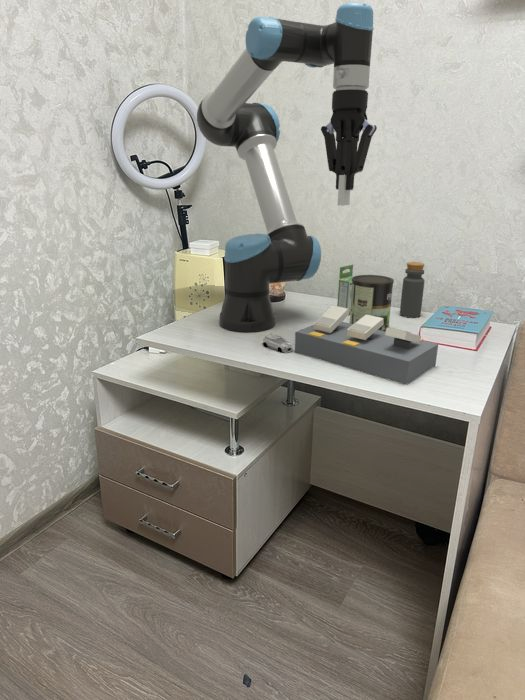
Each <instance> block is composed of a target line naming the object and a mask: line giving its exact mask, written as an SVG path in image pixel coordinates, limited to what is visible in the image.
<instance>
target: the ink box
mask: <svg viewBox="0 0 525 700" xmlns="http://www.w3.org/2000/svg"><path fill="white" fill-rule="evenodd" d="M345 270H349V271H347V272H344V271H345ZM343 272H344V273H343ZM353 272H354V264H348V265H345V266H340V267H339V275H338V276H339V278H338V279H339V280H338V290H337V291H338V292H337V304H336V306H338V307H342V308H347V309H348V310H349V315H350V311H351V295H352V278H353V277H355V276H354V275H353Z"/></svg>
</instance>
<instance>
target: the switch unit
mask: <svg viewBox="0 0 525 700" xmlns="http://www.w3.org/2000/svg"><path fill="white" fill-rule="evenodd" d="M352 325H353V324H350V322H345V321H342V322H341V323H340V324H339V325H338V326H337V327H336V328H335V329H334V330H333V331H332V332H331V333H327V332H323V331H319V330H315V329H314V324H312V325H309V326H307V327H304V328H301V329H299V330H296V331H295V332H294V335H295V337H294V338H295V339H294V353H296V354H300V355H303V356H307V357H310V358H314V359H317V360H320V361H324V362H328V363H331V364H334V365H338V366H342V367H344V368H348V369H351V370H355V371H358V372H362V373H364V374H368V375H372V376H375V377H378V378H382V379H385V380H389V381H392V382H396V383H399V384H402V385H405V386H406V385H408V384H410V383H411V382H413V381H414V380H416V379H418V378H419V377H420V376H422V375H424V374H425V373H427V372H428V371H430V370H432V368H434V367H436V364H437V356H438V348H439V343H437V342H432V341H428V340H424V339H423V338H421V339H420V342H419V343H415V342H411V341H407V340H403V339H399V338H394V337H391V336H387V335H385V331H380V330H377V331H375V332H374V333H373V334H372V335H371V336H369V337H368V338H367V339H366V340H363V339H359V338H355V337H351V336H348V335H347V329H348V328H349V327H351V326H352Z"/></svg>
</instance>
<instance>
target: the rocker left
mask: <svg viewBox="0 0 525 700" xmlns="http://www.w3.org/2000/svg"><path fill="white" fill-rule="evenodd" d="M349 315H350V314H349V310H348V309H347V308H342V307H338V306H337V305H331V306H330V307H329V308H328V309H327V310H326V311H325V312H324V313H322V315H321V316H319V318H318V319H316V320H315V321H314V322H313V324H312V325H314V329H315V330H319V331H323V332H327V333H331V332H332V331H333V330H334V329H335V328H336V327H337V326H338V325H339V324H340V323H341V322H344V320H345V319H346V318H348V316H349Z"/></svg>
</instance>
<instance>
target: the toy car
mask: <svg viewBox="0 0 525 700" xmlns="http://www.w3.org/2000/svg"><path fill="white" fill-rule="evenodd" d="M261 344H262V345H263V347H265V348H269V349H272V350H274V351H277V352H278V353H280V354H281V353H285V354H286V353H290V352H292V351H294V349H293V345H292V344H291V343H290V342H289V341H287V340H286V339H284V338H283V337H282V336H280V335H276V334H273V333H270V332H269V333H267V334H265V335H264V338H263V339H262V343H261Z"/></svg>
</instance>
